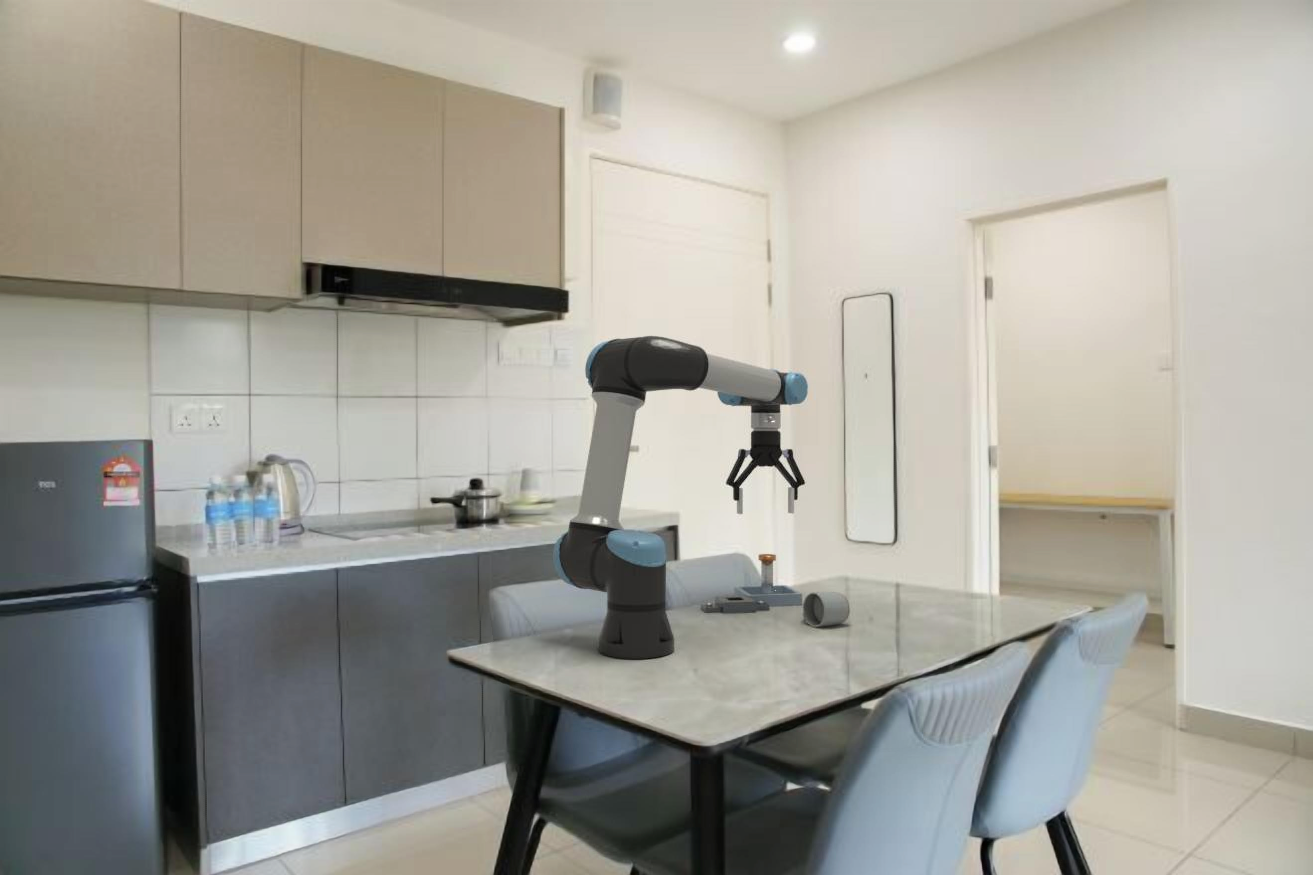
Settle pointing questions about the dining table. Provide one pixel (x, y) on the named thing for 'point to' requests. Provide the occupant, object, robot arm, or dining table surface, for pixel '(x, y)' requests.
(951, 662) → the dining table surface
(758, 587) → the tray
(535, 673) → the dining table surface
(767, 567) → the pin
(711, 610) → the grey holder base
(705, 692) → the dining table surface
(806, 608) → the ceramic mug
